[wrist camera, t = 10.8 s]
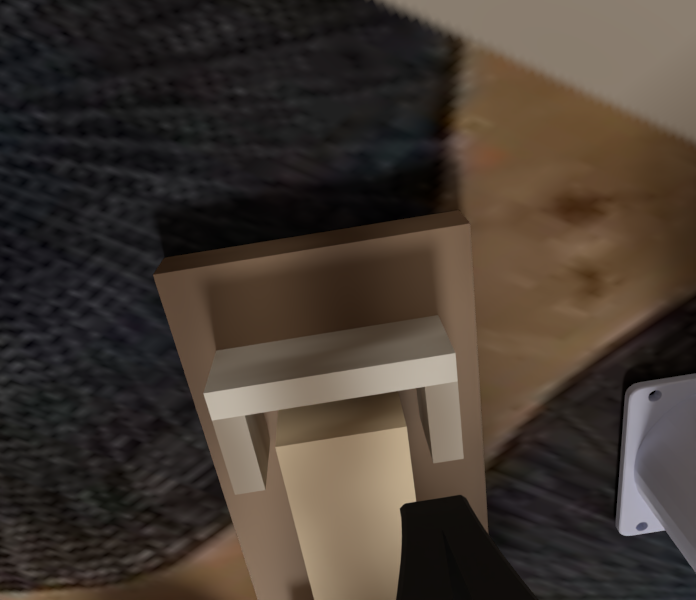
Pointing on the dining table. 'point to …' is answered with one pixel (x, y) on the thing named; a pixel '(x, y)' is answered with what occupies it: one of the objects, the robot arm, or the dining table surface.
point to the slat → (348, 492)
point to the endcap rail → (329, 362)
